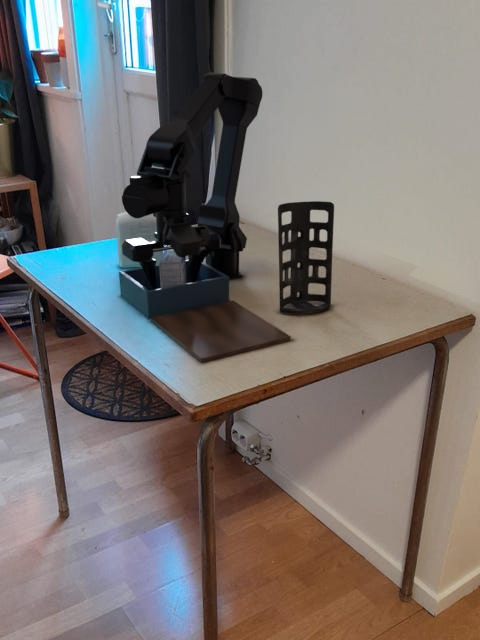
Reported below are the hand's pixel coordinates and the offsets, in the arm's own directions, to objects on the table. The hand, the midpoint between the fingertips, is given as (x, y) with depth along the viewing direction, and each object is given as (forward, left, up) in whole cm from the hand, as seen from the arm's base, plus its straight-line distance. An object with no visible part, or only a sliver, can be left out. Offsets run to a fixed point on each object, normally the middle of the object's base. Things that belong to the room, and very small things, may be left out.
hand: (174, 287), depth 131 cm
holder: (-20, +16, -3) cm, 26 cm away
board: (0, +18, -3) cm, 18 cm away
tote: (0, 0, -3) cm, 3 cm away
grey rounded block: (-3, -23, -3) cm, 23 cm away
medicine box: (0, 0, -2) cm, 2 cm away
